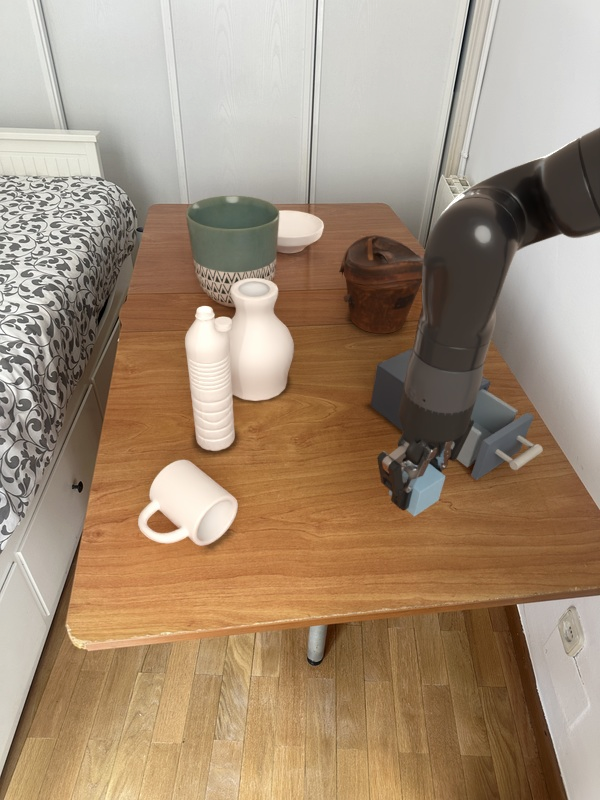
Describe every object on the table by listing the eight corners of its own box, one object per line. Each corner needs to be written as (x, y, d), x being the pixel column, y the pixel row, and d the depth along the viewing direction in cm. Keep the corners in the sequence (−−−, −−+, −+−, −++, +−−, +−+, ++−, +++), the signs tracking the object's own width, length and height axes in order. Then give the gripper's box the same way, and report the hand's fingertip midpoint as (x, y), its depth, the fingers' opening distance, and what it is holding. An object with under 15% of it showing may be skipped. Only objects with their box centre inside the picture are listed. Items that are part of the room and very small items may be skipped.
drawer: (541, 466, 88) (558, 431, 83) (498, 497, 82) (513, 461, 77) (457, 408, 99) (467, 374, 94) (414, 432, 93) (422, 397, 88)
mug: (196, 486, 83) (191, 449, 78) (239, 522, 78) (237, 486, 73) (128, 532, 76) (118, 494, 71) (172, 575, 71) (164, 538, 66)
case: (358, 291, 134) (366, 220, 123) (431, 317, 126) (447, 243, 114) (318, 320, 123) (323, 245, 111) (396, 351, 114) (410, 273, 103)
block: (413, 479, 70) (418, 454, 67) (438, 500, 67) (445, 476, 64) (388, 494, 67) (393, 469, 65) (414, 516, 65) (420, 492, 62)
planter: (252, 275, 139) (250, 190, 125) (294, 308, 126) (297, 218, 113) (181, 293, 130) (171, 204, 117) (218, 331, 118) (211, 236, 104)
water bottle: (188, 437, 91) (171, 307, 76) (219, 420, 95) (209, 293, 79) (220, 465, 87) (209, 333, 71) (251, 446, 90) (247, 316, 74)
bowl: (252, 234, 159) (251, 210, 155) (317, 233, 161) (318, 210, 157) (255, 263, 144) (254, 237, 140) (326, 262, 146) (328, 236, 142)
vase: (276, 412, 97) (277, 316, 85) (205, 393, 101) (196, 298, 88) (303, 369, 108) (307, 278, 95) (238, 353, 111) (234, 263, 98)
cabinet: (476, 423, 97) (490, 381, 91) (429, 452, 91) (440, 408, 85) (417, 382, 106) (426, 341, 100) (370, 406, 100) (377, 364, 93)
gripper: (419, 434, 50) (394, 544, 61) (512, 381, 57) (474, 489, 68) (365, 393, 55) (351, 503, 66) (457, 349, 62) (430, 454, 73)
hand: (414, 495), depth 67 cm, fingers closed on block, 4 cm apart
